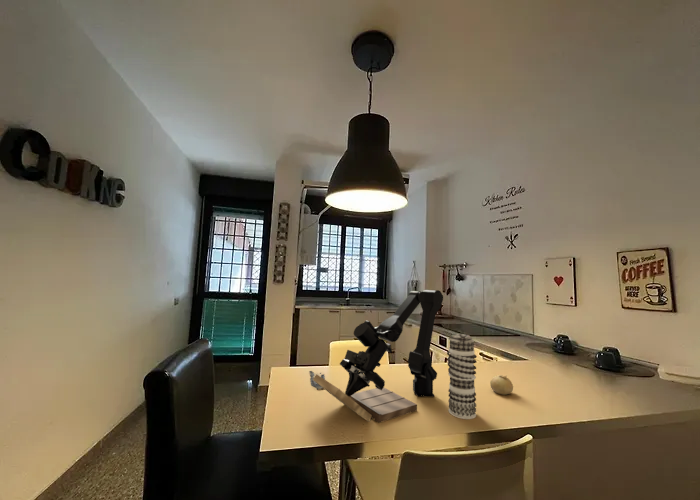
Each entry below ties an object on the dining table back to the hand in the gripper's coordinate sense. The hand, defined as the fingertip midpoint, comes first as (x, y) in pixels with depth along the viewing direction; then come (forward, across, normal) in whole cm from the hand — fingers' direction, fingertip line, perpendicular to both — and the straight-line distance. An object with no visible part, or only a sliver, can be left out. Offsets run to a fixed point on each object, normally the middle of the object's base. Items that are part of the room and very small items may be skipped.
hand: (345, 396), depth 95 cm
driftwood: (0, -32, +10) cm, 34 cm away
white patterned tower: (-19, +18, +29) cm, 39 cm away
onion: (-38, +15, +50) cm, 64 cm away
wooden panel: (-5, 0, +14) cm, 15 cm away
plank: (+1, 0, +7) cm, 7 cm away
